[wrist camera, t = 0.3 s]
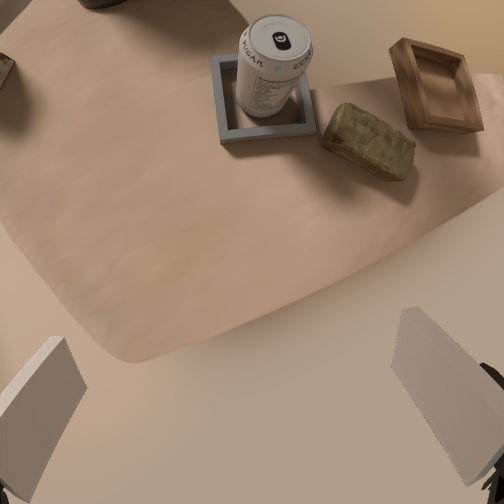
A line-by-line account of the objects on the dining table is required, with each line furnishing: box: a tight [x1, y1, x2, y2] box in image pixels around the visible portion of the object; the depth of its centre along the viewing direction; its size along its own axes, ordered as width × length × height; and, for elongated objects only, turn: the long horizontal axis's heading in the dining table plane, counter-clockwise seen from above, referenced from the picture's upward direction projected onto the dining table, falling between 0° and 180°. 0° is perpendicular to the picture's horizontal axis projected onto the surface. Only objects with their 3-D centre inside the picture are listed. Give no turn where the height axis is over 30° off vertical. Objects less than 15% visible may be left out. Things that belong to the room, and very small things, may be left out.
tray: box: [210, 53, 316, 144], centre depth 31 cm, size 11×11×2 cm
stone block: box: [322, 103, 416, 182], centre depth 32 cm, size 6×12×5 cm, turn 69°
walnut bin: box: [389, 38, 484, 134], centre depth 31 cm, size 13×13×4 cm
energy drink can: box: [236, 14, 313, 118], centre depth 25 cm, size 6×6×15 cm
